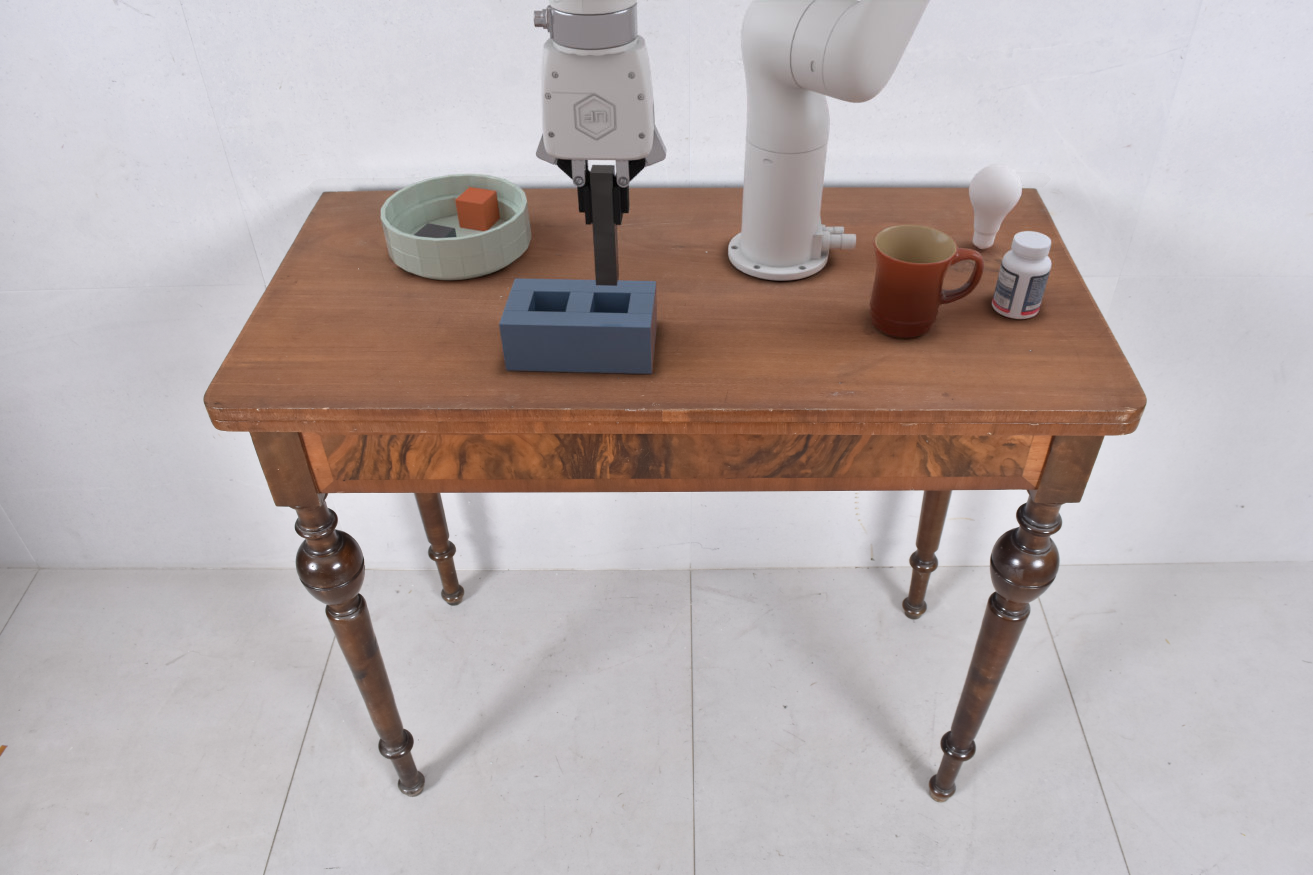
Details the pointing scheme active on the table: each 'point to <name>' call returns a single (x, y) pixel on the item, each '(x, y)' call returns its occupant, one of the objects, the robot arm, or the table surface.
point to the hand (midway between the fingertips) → (604, 217)
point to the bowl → (470, 247)
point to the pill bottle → (1023, 276)
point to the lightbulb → (992, 201)
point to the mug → (915, 278)
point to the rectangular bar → (604, 225)
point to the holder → (579, 326)
